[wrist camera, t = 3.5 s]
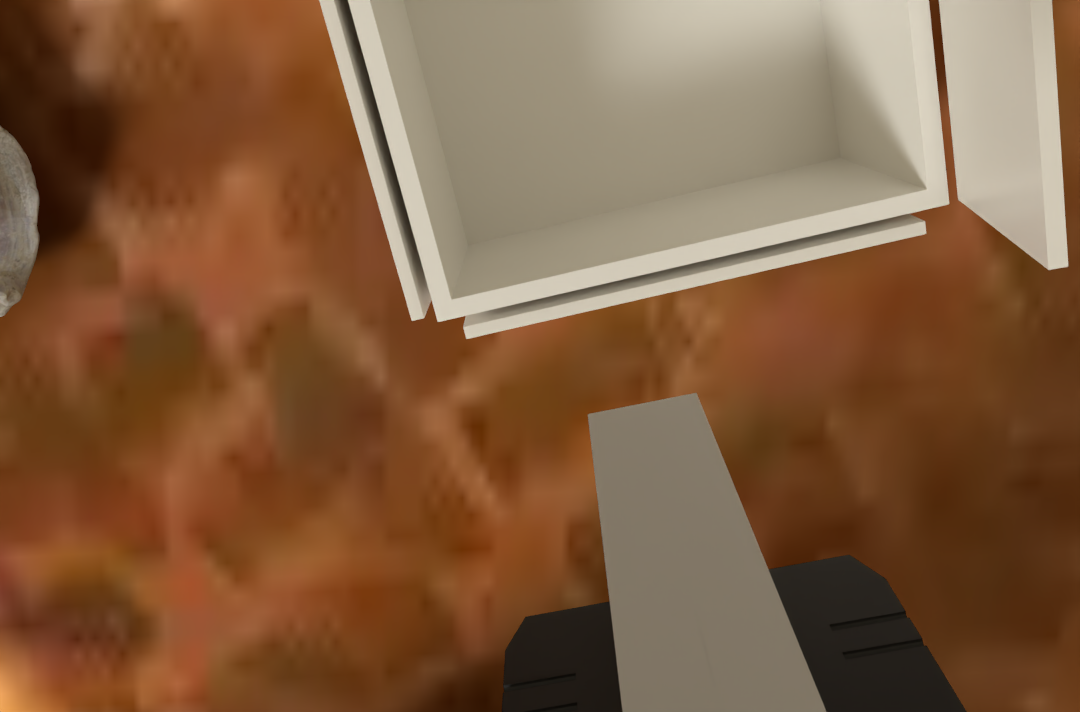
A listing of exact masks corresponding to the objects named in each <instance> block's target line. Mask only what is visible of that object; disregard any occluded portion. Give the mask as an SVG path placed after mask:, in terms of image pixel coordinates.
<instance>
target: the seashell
mask: <svg viewBox="0 0 1080 712" xmlns="http://www.w3.org/2000/svg"><path fill="white" fill-rule="evenodd" d="M38 211H39V193H38V190H37V187H36V181H35V176H34V174H33V172H32V167H31V164H30V162H29V159H28V157H27V155H26V154H25V152H24V151H23V149H22V148H21V146H20V145H19V143H18V142H17V140H16V139H15V138H14V137H13V136H12V135H11V134H10V133H9V132H8V131H7V130H5V129H4V128H2V127H1V126H0V317H2V316H4V315H5V314H6V313H7V312H8V311H9V309H10V308H11V306H13V305H14V304H15V303H17V302H18V301H20V299H21V298H22V295H23V293H24V290H25V287H26V285H27V281H28V278H29V276H30V273H31V271H32V268H33V265H34V262H35V260H36V255H37V251H38V246H39V241H40V238H39V232H38V229H37V220H38Z"/></svg>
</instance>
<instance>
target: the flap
mask: <svg viewBox="0 0 1080 712" xmlns="http://www.w3.org/2000/svg"><path fill="white" fill-rule="evenodd" d="M939 8H940V18H941V28H942V38H943V49H944V59H945V69H946V80H947V90H948V100H949V111H950V121H951V131H952V142H953V152H954V162H955V173H956V183H957V193H958V200H959V201H961V202H962V203H963V204H964V205H966V206H967V207H968V208H970V209H971V210H972V211H973V212H975V213H976V214H977V215H979V216H980V217H981V218H982V219H984V220H985V221H986V222H988V223H989V224H990V225H991V226H993V227H994V228H995V229H997V230H998V231H999V232H1000V233H1002V234H1003V235H1004V236H1006V237H1007V238H1008V239H1009V240H1011V241H1012V242H1013V243H1015V244H1016V245H1017V246H1018V247H1020V248H1021V249H1022V250H1024V251H1025V252H1026V253H1027V254H1029V255H1030V256H1031V257H1033V258H1034V259H1035V260H1036V261H1038V262H1039V263H1040V264H1041V265H1043V266H1044V267H1045V268H1047V269H1048V270H1051V269H1057V268H1063V267H1068V254H1067V237H1066V221H1065V205H1064V189H1063V173H1062V157H1061V141H1060V125H1059V108H1058V92H1057V76H1056V60H1055V44H1054V28H1053V12H1052V0H939Z"/></svg>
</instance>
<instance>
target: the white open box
mask: <svg viewBox="0 0 1080 712" xmlns="http://www.w3.org/2000/svg"><path fill="white" fill-rule="evenodd" d="M319 1H320V4H321V8H322V11H323V15H324V18H325V22H326V25H327V29H328V32H329V36H330V39H331V43H332V46H333V49H334V53H335V56H336V60H337V63H338V67H339V70H340V74H341V77H342V81H343V84H344V88H345V91H346V94H347V98H348V101H349V105H350V108H351V112H352V115H353V119H354V122H355V126H356V129H357V133H358V136H359V140H360V143H361V146H362V150H363V153H364V157H365V160H366V164H367V167H368V171H369V174H370V178H371V181H372V185H373V188H374V191H375V195H376V198H377V202H378V205H379V209H380V212H381V216H382V219H383V223H384V226H385V230H386V233H387V237H388V240H389V243H390V247H391V250H392V254H393V257H394V261H395V264H396V268H397V271H398V275H399V278H400V282H401V285H402V289H403V292H404V295H405V299H406V302H407V306H408V309H409V313H410V316H411V320H412V321H414V320H418V319H423V318H424V317H425V315H426V312H427V309H428V307H429V304H430V302H431V299H432V303H433V306H434V310H435V314H436V317H437V321H438V322H441V321H445V320H449V319H454V318H458V317H462V316H466V318H465V322H464V326H463V328H464V332H465V336H466V339H469V338H473V337H478V336H482V335H486V334H491V333H495V332H499V331H504V330H508V329H513V328H517V327H521V326H526V325H530V324H534V323H539V322H543V321H547V320H552V319H556V318H561V317H565V316H569V315H574V314H578V313H582V312H587V311H591V310H596V309H600V308H604V307H609V306H613V305H617V304H622V303H626V302H630V301H635V300H639V299H644V298H648V297H652V296H657V295H661V294H665V293H670V292H674V291H679V290H683V289H687V288H692V287H696V286H700V285H705V284H709V283H713V282H718V281H722V280H727V279H731V278H735V277H740V276H744V275H748V274H753V273H757V272H762V271H766V270H770V269H775V268H779V267H783V266H788V265H792V264H796V263H801V262H805V261H810V260H814V259H818V258H823V257H827V256H831V255H836V254H840V253H845V252H849V251H853V250H858V249H862V248H866V247H871V246H875V245H879V244H884V243H888V242H893V241H897V240H901V239H906V238H910V237H914V236H919V235H923V234H926V226H925V221H924V220H921V219H919V218H917V217H915V216H912V215H910V214H909V213H914V212H918V211H922V210H927V209H931V208H935V207H940V206H944V205H948V204H949V196H948V186H947V176H946V166H945V156H944V146H943V136H942V126H941V116H940V106H939V96H938V86H937V76H936V66H935V56H934V46H933V36H932V26H931V16H930V6H929V0H319Z"/></svg>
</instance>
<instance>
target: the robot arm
mask: <svg viewBox="0 0 1080 712" xmlns="http://www.w3.org/2000/svg"><path fill="white" fill-rule="evenodd" d="M588 420H589V428H590V437H591V445H592V454H593V463H594V471H595V480H596V488H597V497H598V505H599V514H600V523H601V531H602V540H603V548H604V557H605V566H606V574H607V583H608V591H609V600H610V602H605V603H600V604H594V605H589V606H583V607H578V608H572V609H567V610H561V611H556V612H550V613H545V614H539V615H534V616H528V617H525V619H524V620H523V622H522V624H521V625H520V627H519V629H518V630H517V632H516V634H515V635H514V637H513V639H512V640H511V642H510V643H509V645H508V647H507V648H506V650H505V665H504V683H503V686H504V693H503V701H502V712H966V710H965V708H964V707H963V705H962V704H961V702H960V700H959V699H958V697H957V695H956V694H955V692H954V690H953V689H952V687H951V685H950V684H949V682H948V681H947V679H946V677H945V676H944V674H943V672H942V671H941V669H940V667H939V666H938V664H937V662H936V661H935V659H934V658H933V656H932V654H931V653H930V651H929V649H928V648H927V646H924V645H923V642H922V638H921V636H920V635H919V633H918V631H917V630H916V628H915V626H914V625H913V623H912V621H911V620H910V618H907V616H906V612H905V610H904V608H903V607H902V605H901V603H900V602H899V600H898V598H897V597H896V595H895V593H894V592H893V590H892V588H891V587H890V585H889V584H888V582H887V580H886V579H885V578H884V577H882V576H881V575H879V574H878V573H876V572H875V571H873V570H872V569H870V568H868V567H867V566H865V565H864V564H862V563H861V562H859V561H858V560H856V559H855V558H853V557H852V556H850V555H846V556H840V557H835V558H829V559H824V560H818V561H813V562H807V563H802V564H796V565H791V566H785V567H780V568H774V569H769V570H768V567H767V565H766V562H765V560H764V557H763V555H762V553H761V550H760V548H759V545H758V543H757V540H756V538H755V535H754V533H753V531H752V528H751V526H750V523H749V521H748V518H747V516H746V513H745V511H744V508H743V506H742V504H741V501H740V499H739V496H738V494H737V491H736V489H735V486H734V484H733V482H732V479H731V477H730V474H729V472H728V469H727V467H726V464H725V462H724V459H723V457H722V455H721V452H720V450H719V447H718V445H717V442H716V440H715V437H714V435H713V433H712V430H711V428H710V425H709V423H708V420H707V418H706V415H705V413H704V410H703V408H702V406H701V403H700V401H699V398H698V396H697V393H694V394H689V395H684V396H679V397H673V398H668V399H663V400H658V401H653V402H648V403H643V404H638V405H633V406H628V407H622V408H617V409H612V410H607V411H602V412H597V413H592V414H588Z"/></svg>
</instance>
